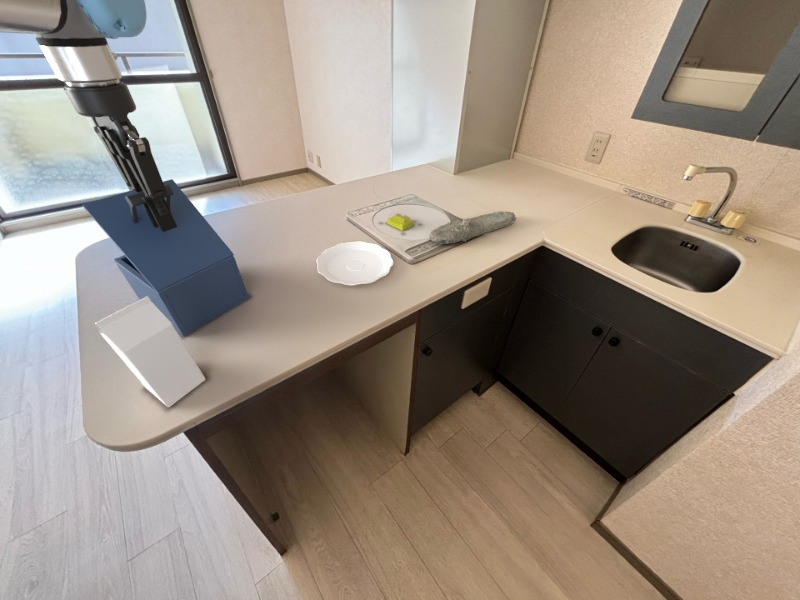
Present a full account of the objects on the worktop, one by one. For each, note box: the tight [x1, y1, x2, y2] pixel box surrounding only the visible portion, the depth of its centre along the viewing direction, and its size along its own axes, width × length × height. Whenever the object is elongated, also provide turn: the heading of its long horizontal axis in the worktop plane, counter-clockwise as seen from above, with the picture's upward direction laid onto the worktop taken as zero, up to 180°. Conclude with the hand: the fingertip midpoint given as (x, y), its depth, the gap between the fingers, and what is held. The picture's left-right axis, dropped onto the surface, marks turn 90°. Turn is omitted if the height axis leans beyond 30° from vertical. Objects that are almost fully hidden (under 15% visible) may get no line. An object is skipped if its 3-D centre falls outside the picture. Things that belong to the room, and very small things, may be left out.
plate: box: [315, 240, 394, 286], centre depth 90 cm, size 21×21×2 cm
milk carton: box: [95, 296, 206, 408], centre depth 54 cm, size 7×7×19 cm
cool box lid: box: [82, 178, 235, 292], centre depth 62 cm, size 20×16×9 cm
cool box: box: [112, 254, 250, 338], centre depth 74 cm, size 19×16×12 cm
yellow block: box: [386, 214, 418, 231], centre depth 109 cm, size 10×9×3 cm
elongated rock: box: [429, 210, 517, 245], centre depth 106 cm, size 35×5×10 cm
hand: (165, 226), depth 63 cm, fingers closed on cool box lid, 2 cm apart
